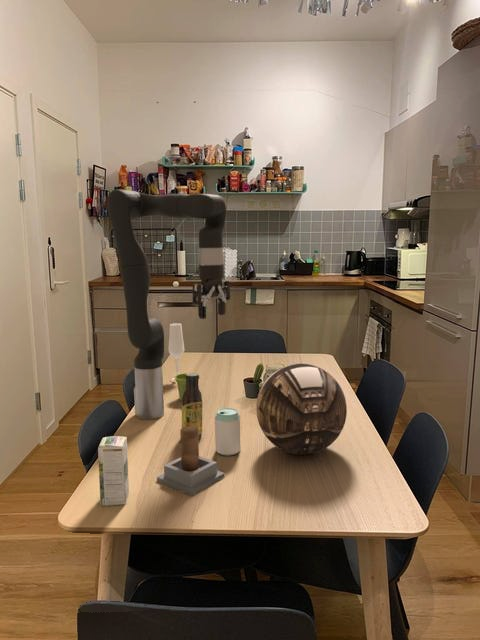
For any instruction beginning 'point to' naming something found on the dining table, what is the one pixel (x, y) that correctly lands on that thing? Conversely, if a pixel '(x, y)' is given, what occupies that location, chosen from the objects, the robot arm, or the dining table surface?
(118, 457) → the syrup box
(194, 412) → the sauce bottle
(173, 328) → the champagne flute
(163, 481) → the holder
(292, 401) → the sphere
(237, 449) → the can
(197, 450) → the handle
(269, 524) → the dining table surface
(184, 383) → the plant pot
